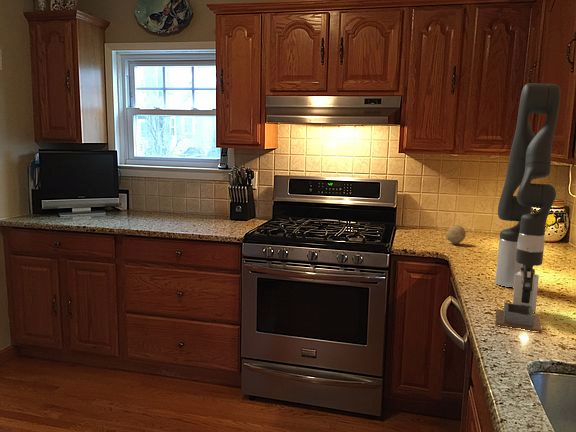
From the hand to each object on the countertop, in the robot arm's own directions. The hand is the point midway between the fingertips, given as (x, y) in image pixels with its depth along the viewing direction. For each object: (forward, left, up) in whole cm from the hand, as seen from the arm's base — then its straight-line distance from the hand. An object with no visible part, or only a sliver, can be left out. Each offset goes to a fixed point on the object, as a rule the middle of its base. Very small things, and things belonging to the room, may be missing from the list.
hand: (524, 298), depth 161 cm
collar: (+11, -2, -4) cm, 12 cm away
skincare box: (0, 0, -4) cm, 4 cm away
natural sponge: (-97, -28, -4) cm, 101 cm away
